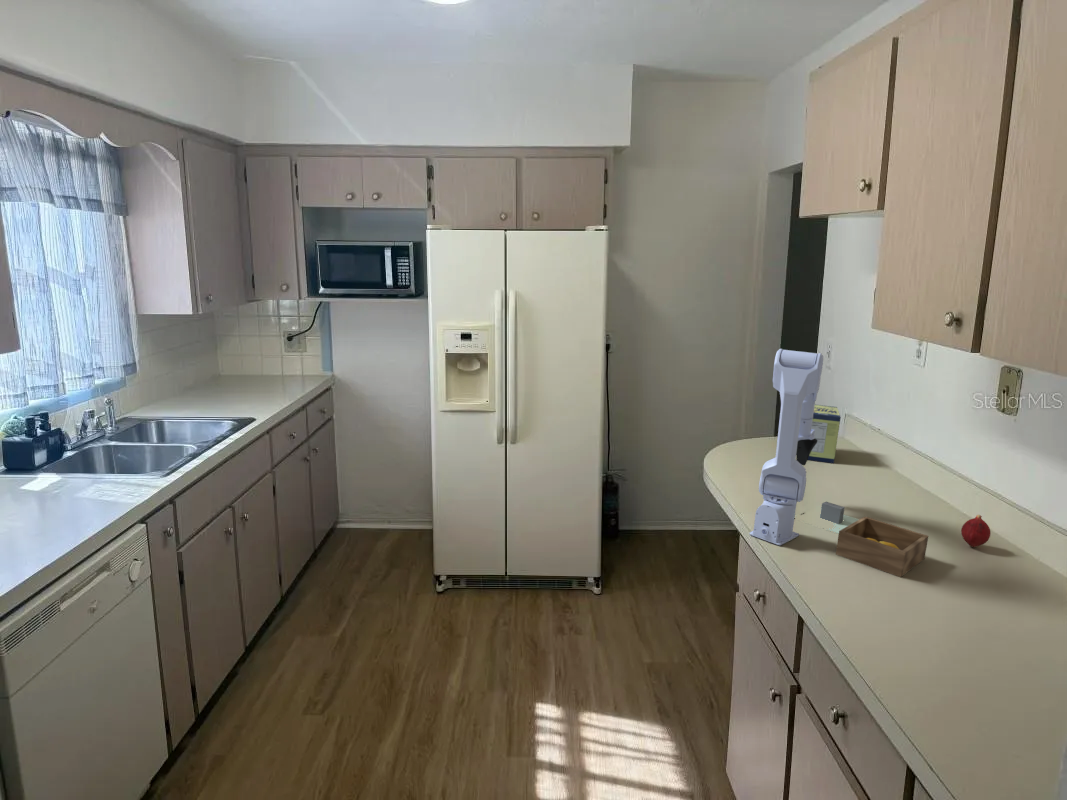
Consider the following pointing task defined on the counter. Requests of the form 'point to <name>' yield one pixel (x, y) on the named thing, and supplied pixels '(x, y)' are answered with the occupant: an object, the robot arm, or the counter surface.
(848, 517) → the lid
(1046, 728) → the counter surface
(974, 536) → the onion
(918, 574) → the counter surface
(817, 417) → the protein box
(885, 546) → the box
